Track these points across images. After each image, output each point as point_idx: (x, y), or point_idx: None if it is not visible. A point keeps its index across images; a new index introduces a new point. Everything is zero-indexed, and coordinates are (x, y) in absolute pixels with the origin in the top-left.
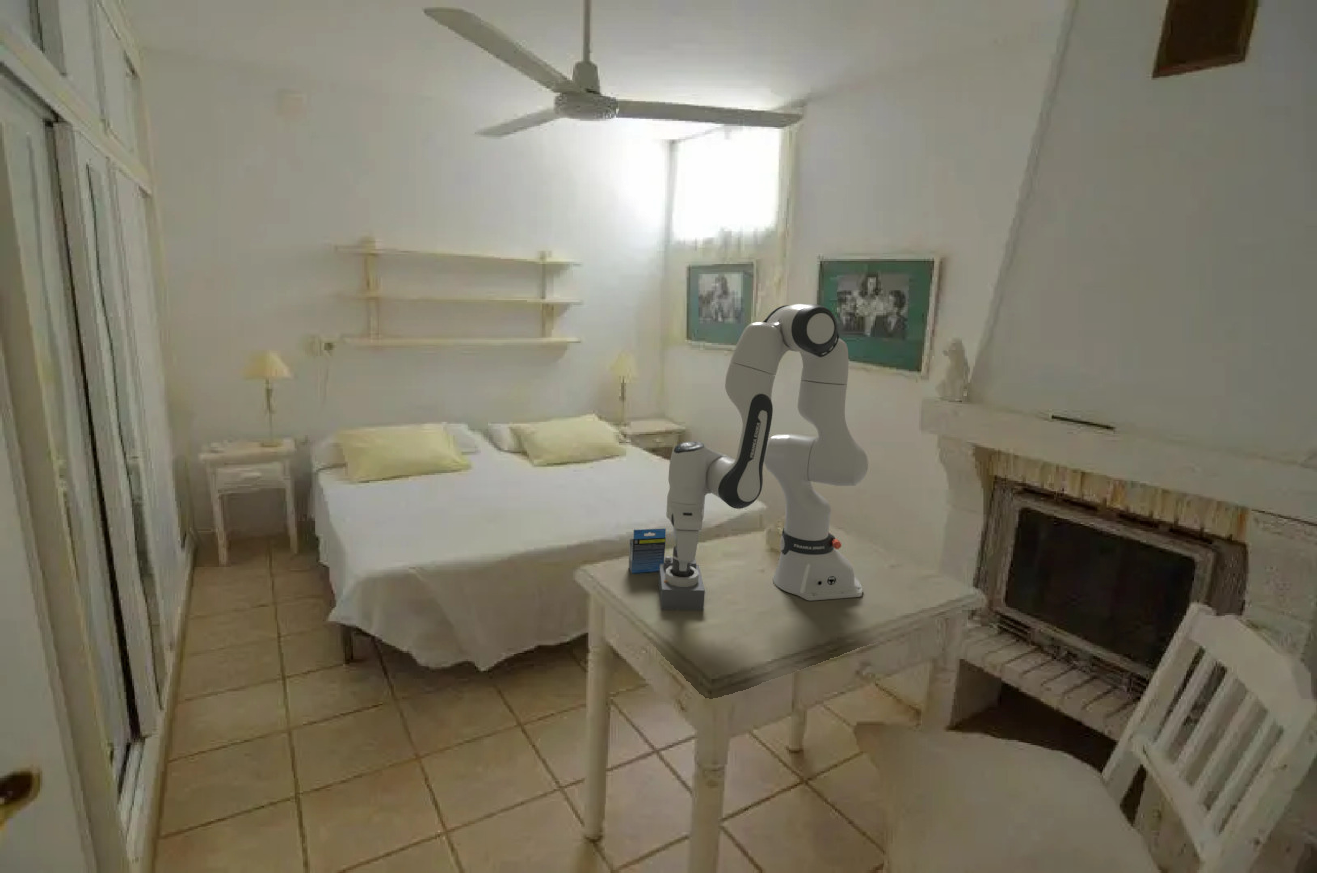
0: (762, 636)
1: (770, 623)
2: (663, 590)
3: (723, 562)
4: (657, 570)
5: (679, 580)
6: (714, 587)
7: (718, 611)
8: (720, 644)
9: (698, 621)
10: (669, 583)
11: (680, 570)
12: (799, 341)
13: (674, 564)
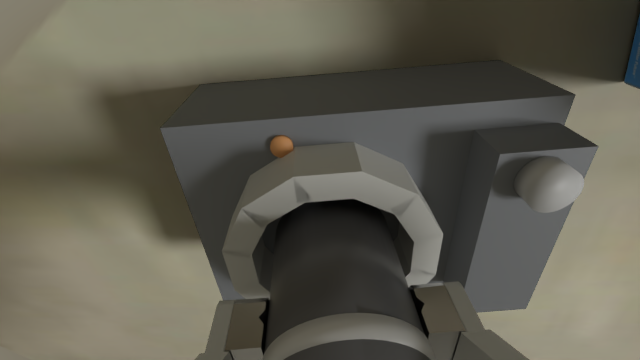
0: (139, 354)
1: None
2: (164, 134)
3: (610, 294)
4: (635, 50)
5: (223, 247)
6: None
7: None
8: (32, 280)
9: (151, 226)
10: (259, 170)
11: (220, 305)
12: None
13: (294, 280)
